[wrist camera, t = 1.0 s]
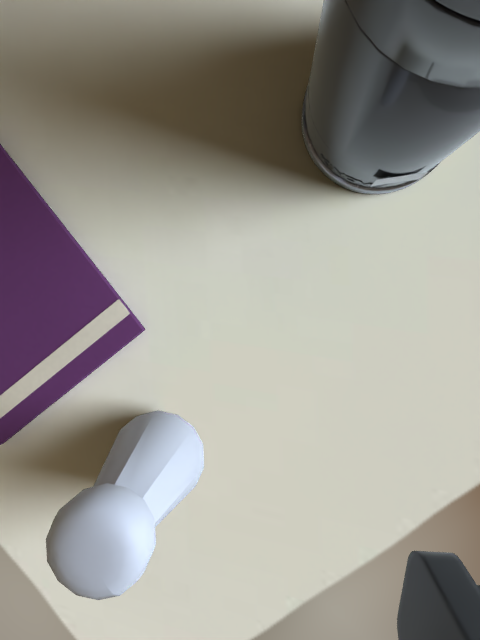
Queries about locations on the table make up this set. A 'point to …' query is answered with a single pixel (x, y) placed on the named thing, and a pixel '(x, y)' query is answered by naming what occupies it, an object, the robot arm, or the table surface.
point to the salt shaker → (125, 506)
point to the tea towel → (48, 306)
